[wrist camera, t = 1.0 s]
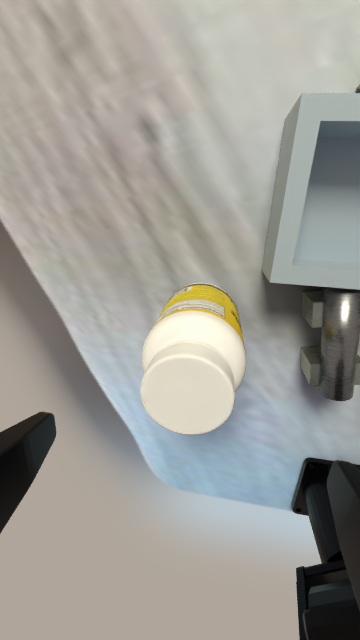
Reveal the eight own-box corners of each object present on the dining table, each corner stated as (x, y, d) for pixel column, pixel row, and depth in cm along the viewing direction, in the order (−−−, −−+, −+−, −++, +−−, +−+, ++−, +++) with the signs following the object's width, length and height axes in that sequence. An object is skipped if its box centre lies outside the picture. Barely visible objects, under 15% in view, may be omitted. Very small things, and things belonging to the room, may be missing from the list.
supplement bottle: (231, 354, 21) (236, 460, 12) (162, 342, 22) (119, 434, 13) (246, 287, 19) (266, 353, 10) (170, 274, 20) (124, 328, 11)
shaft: (345, 370, 20) (369, 400, 17) (300, 372, 21) (313, 401, 18) (354, 277, 18) (383, 291, 15) (302, 281, 18) (319, 296, 15)
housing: (398, 279, 18) (438, 295, 14) (261, 270, 19) (269, 282, 15) (453, 120, 14) (522, 92, 11) (285, 119, 15) (302, 93, 12)
